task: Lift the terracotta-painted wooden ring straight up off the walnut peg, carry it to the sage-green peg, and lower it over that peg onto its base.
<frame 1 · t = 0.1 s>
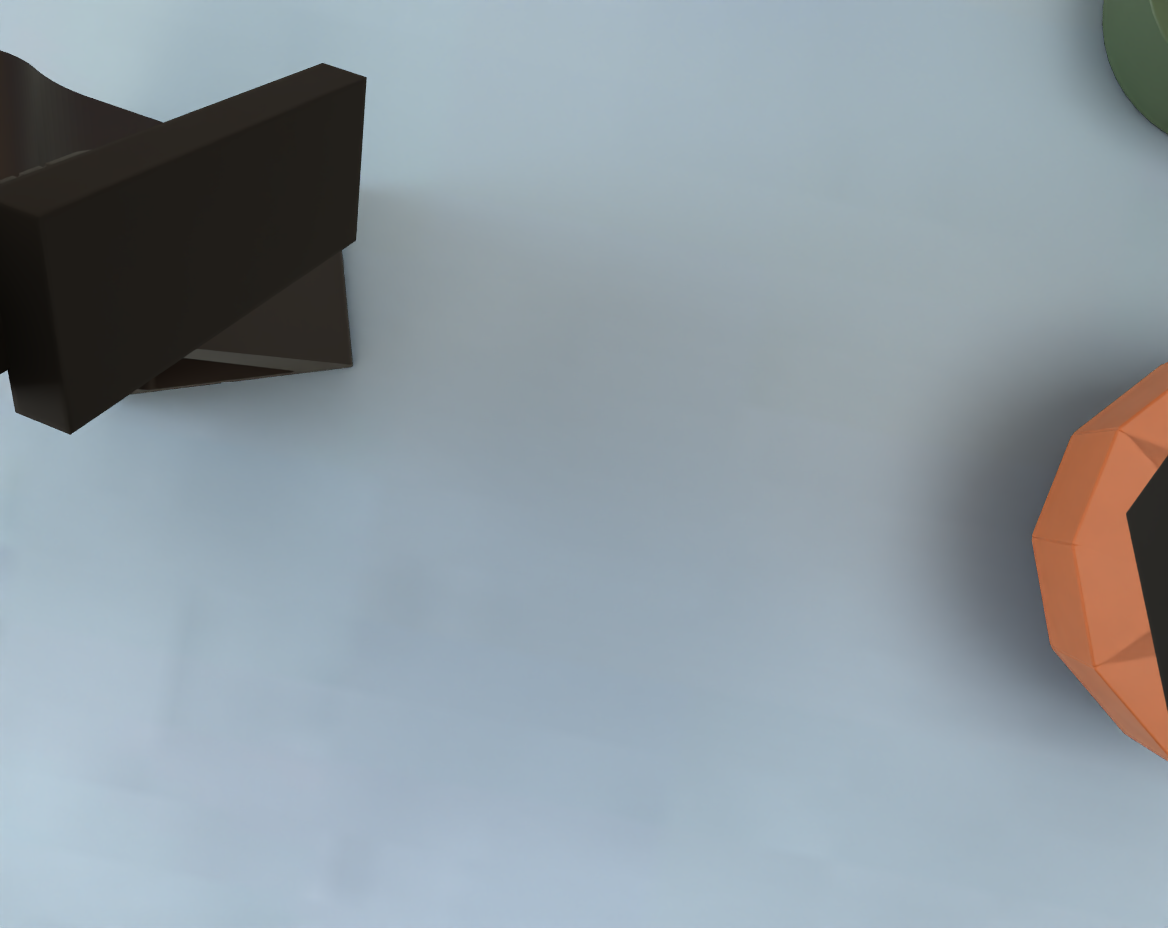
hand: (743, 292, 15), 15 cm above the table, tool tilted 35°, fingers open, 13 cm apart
phone stand: (221, 294, 32), on the table
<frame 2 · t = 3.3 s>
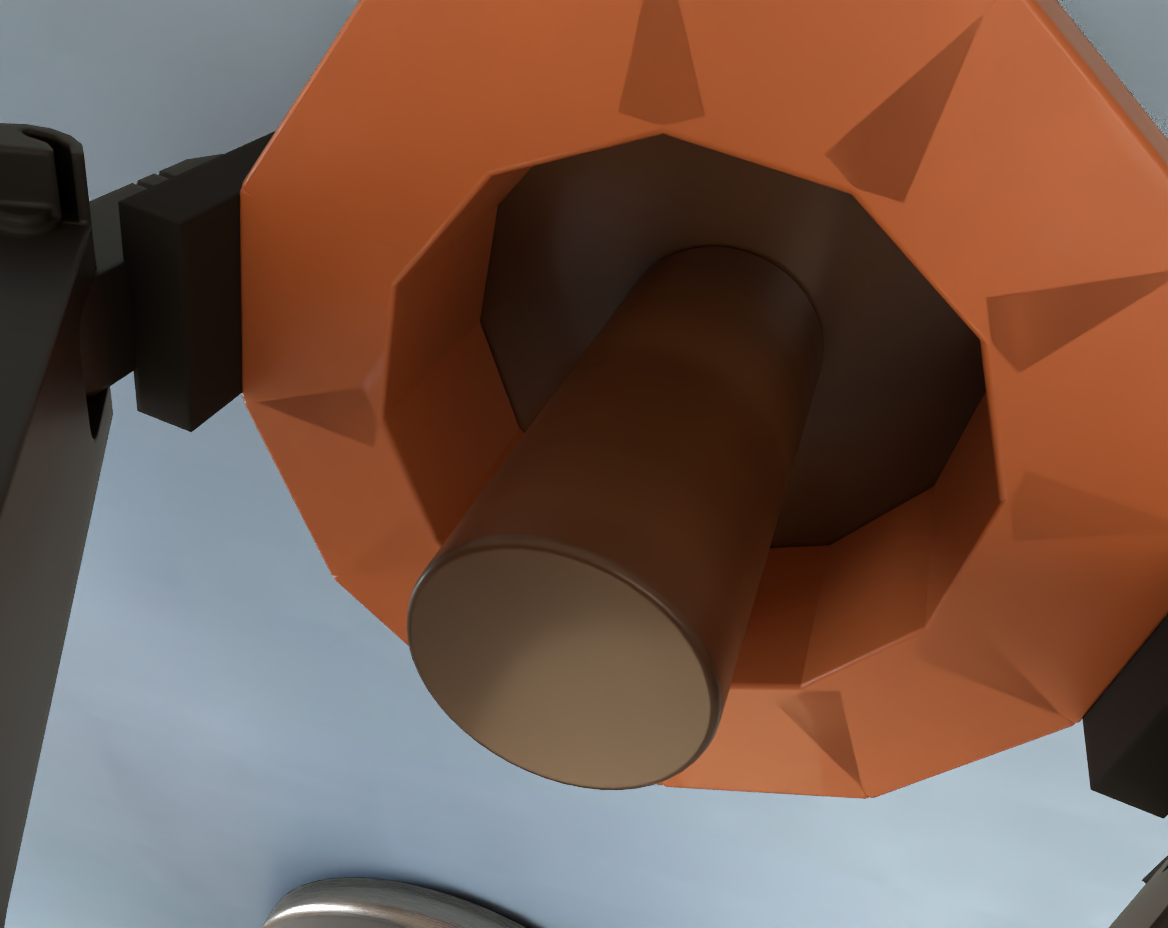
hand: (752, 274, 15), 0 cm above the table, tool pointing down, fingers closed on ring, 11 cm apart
walnut peg: (758, 263, 16), on the table
ring: (718, 344, 13), point 3 cm above the table, touching gripper, walnut peg
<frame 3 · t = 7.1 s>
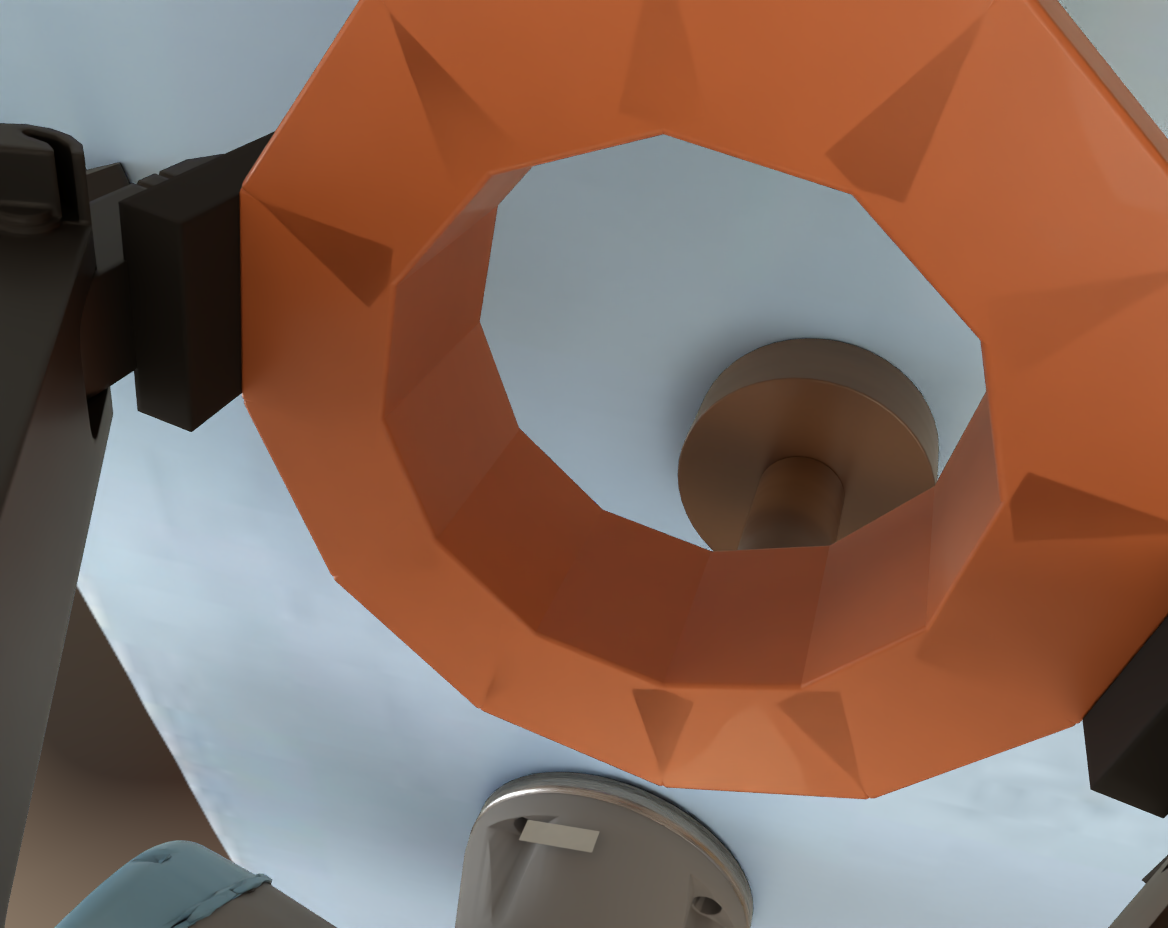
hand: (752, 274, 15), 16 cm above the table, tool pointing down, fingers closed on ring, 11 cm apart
walnut peg: (812, 446, 34), on the table
phone stand: (81, 248, 41), on the table
ring: (718, 344, 13), point 18 cm above the table, touching gripper
when the fingers open (0 cm above the table, at t = 11.3 s): ring stays where it is, resting on sage peg.
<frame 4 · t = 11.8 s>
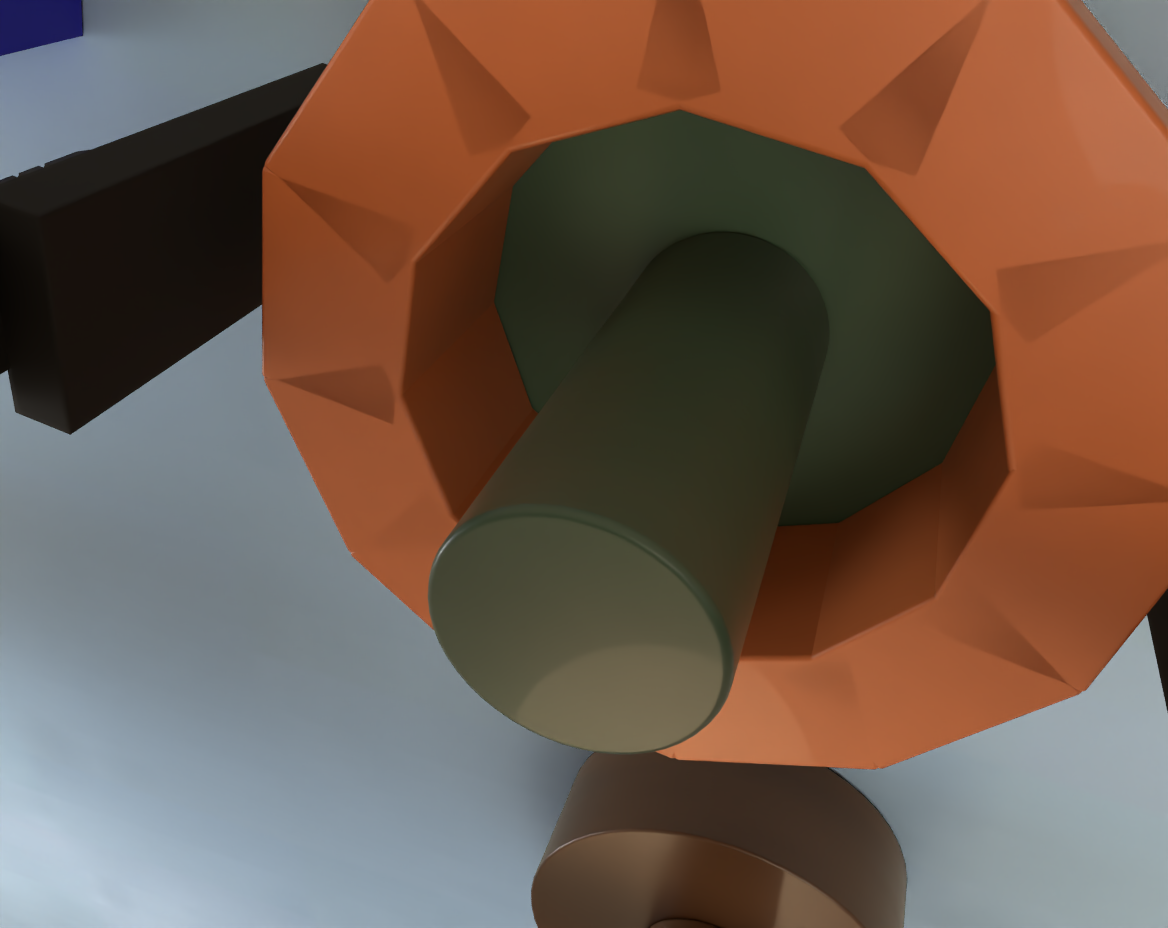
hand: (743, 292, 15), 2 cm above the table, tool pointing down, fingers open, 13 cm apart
walnut peg: (730, 845, 24), on the table
sage peg: (764, 251, 16), on the table
ring: (729, 323, 13), point 3 cm above the table, touching sage peg
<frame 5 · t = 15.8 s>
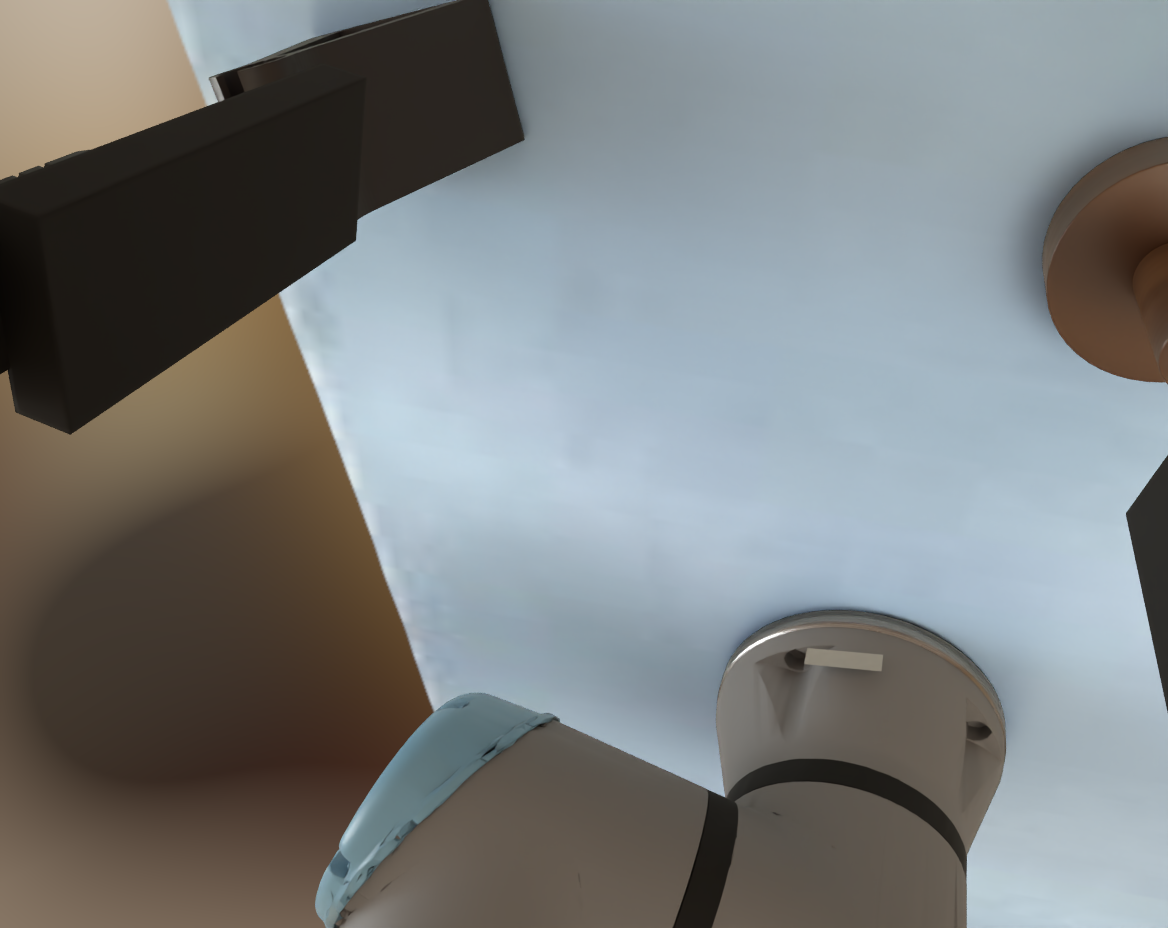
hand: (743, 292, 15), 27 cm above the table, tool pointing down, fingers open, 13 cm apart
walnut peg: (1164, 247, 37), on the table
phone stand: (421, 86, 43), on the table
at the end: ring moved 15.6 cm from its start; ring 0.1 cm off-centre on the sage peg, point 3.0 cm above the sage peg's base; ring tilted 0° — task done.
